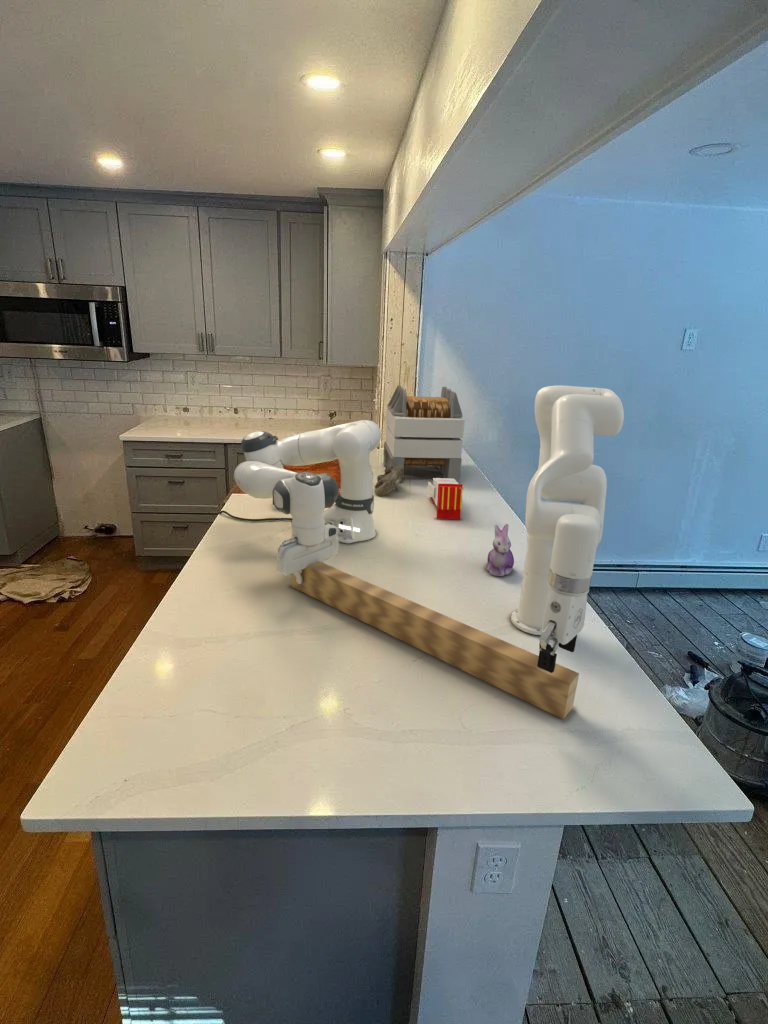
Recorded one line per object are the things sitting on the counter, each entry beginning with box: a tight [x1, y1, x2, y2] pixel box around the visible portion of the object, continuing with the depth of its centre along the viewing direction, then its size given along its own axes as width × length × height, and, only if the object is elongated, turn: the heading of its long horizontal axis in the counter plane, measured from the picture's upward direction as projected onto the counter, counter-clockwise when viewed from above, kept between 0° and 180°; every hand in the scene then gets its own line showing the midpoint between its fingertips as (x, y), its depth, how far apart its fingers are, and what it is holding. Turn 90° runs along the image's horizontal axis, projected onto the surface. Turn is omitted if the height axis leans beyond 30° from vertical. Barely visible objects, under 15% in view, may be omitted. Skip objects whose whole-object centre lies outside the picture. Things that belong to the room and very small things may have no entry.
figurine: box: [486, 523, 515, 577], centre depth 172 cm, size 9×10×15 cm
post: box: [291, 561, 580, 720], centre depth 136 cm, size 80×5×8 cm, turn 50°
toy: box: [427, 477, 464, 520], centre depth 227 cm, size 12×13×30 cm
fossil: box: [374, 466, 405, 497], centre depth 246 cm, size 22×10×15 cm
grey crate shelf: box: [383, 384, 465, 484], centre depth 268 cm, size 34×33×41 cm
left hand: (308, 579), depth 157 cm, fingers closed on post, 4 cm apart
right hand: (556, 659), depth 112 cm, fingers open, 9 cm apart
